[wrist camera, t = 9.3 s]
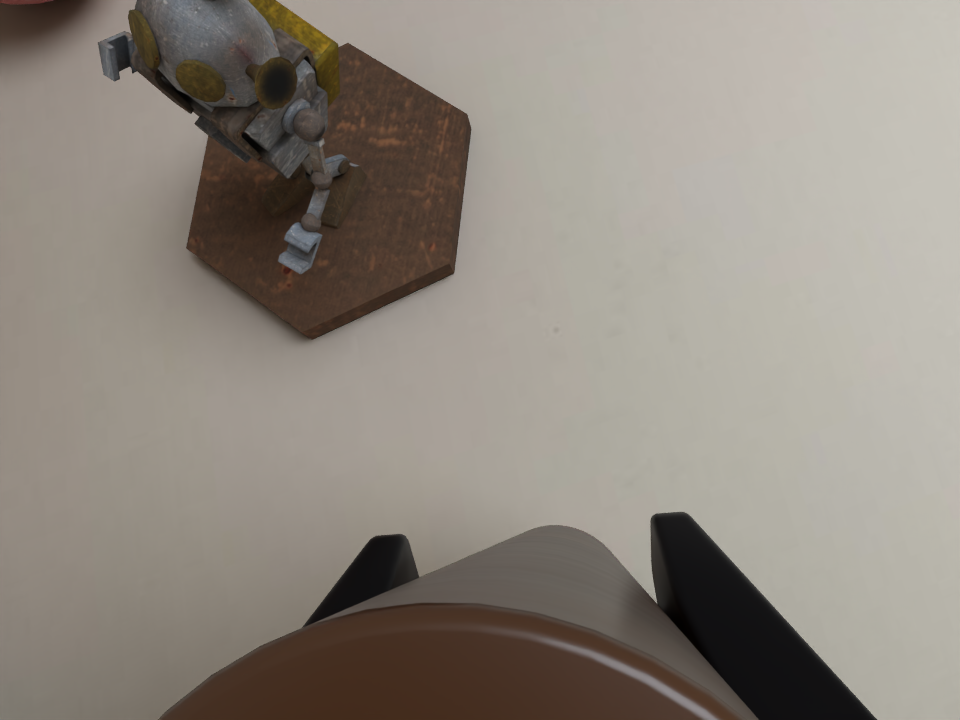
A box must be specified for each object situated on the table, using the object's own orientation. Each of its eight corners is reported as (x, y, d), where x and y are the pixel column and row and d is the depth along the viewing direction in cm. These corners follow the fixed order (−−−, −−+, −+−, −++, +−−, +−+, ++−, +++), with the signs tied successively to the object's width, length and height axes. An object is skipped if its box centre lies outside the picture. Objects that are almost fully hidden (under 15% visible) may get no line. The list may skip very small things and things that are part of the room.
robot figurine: (142, 214, 26) (-212, -25, 14) (296, 23, 27) (81, -352, 15) (372, 383, 23) (171, 260, 12) (533, 166, 24) (496, -151, 13)
